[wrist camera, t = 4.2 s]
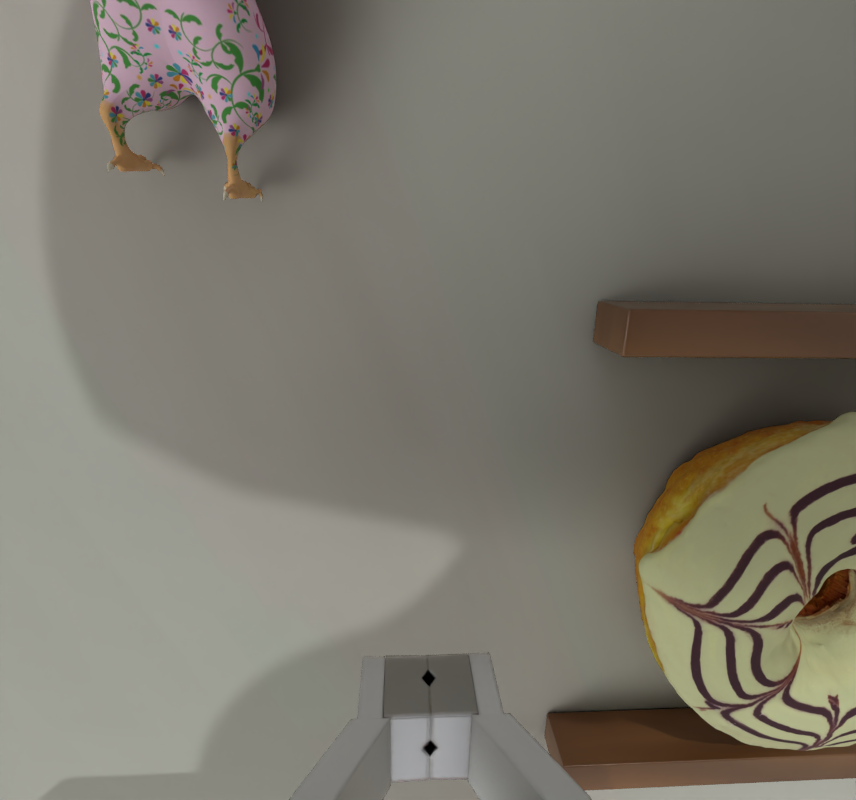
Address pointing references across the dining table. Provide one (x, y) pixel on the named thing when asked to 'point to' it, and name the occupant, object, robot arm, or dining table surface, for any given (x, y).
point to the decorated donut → (759, 584)
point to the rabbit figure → (186, 71)
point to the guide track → (683, 728)
